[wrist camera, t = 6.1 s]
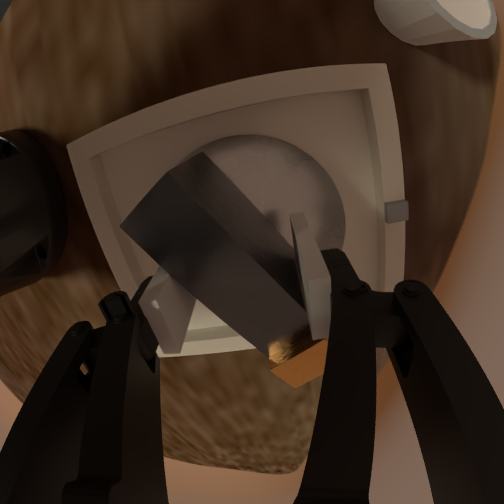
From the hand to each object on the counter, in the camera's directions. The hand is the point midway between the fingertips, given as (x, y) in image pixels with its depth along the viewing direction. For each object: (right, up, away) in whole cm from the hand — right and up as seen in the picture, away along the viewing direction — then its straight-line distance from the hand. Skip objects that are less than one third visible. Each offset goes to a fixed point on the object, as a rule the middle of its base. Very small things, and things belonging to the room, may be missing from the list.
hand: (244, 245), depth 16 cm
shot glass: (+12, +17, -3) cm, 21 cm away
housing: (0, +2, +4) cm, 5 cm away
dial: (0, +1, +2) cm, 3 cm away
